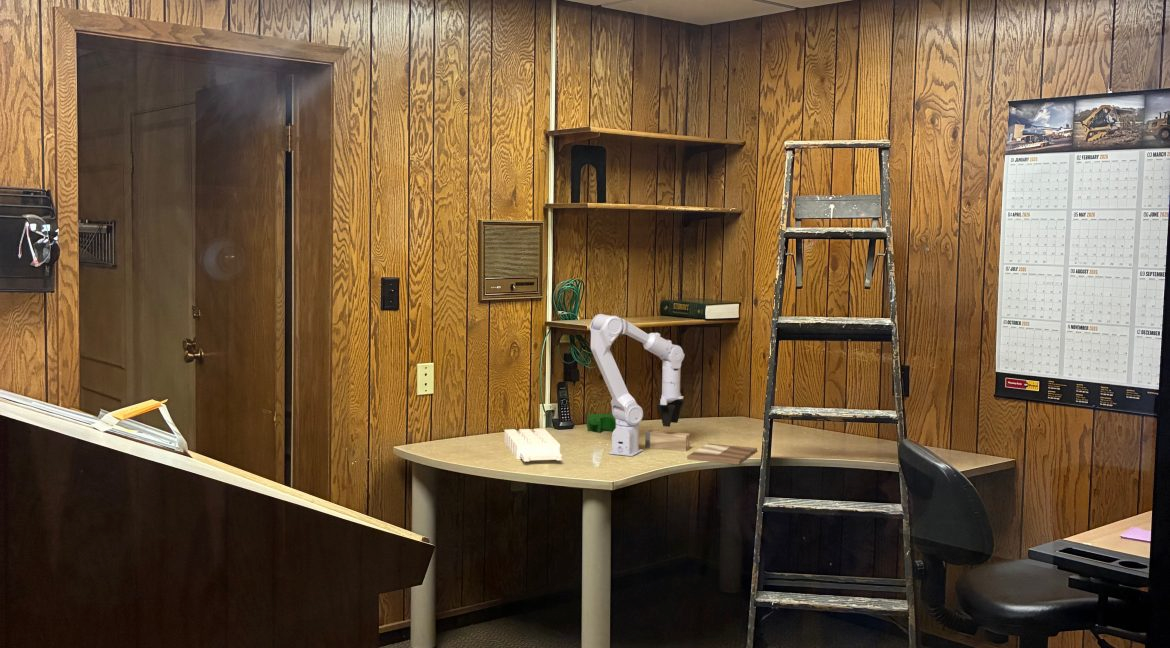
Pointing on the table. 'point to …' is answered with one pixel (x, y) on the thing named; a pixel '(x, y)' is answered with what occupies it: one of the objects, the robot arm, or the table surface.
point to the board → (722, 453)
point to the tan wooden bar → (667, 440)
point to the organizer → (532, 444)
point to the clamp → (601, 422)
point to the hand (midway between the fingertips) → (670, 424)
